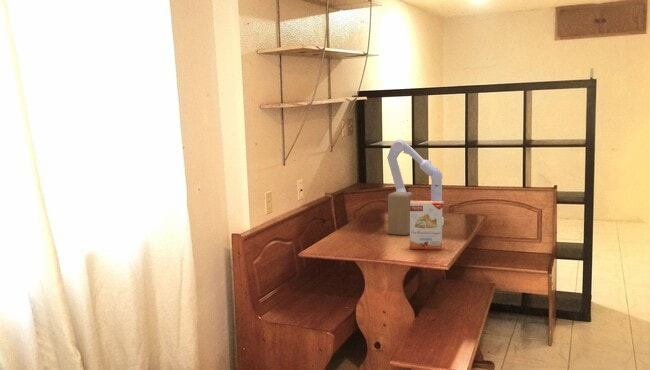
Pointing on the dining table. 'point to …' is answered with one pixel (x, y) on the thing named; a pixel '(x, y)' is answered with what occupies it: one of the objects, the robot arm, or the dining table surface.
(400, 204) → the wooden block
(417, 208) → the cracker box
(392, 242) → the dining table surface
